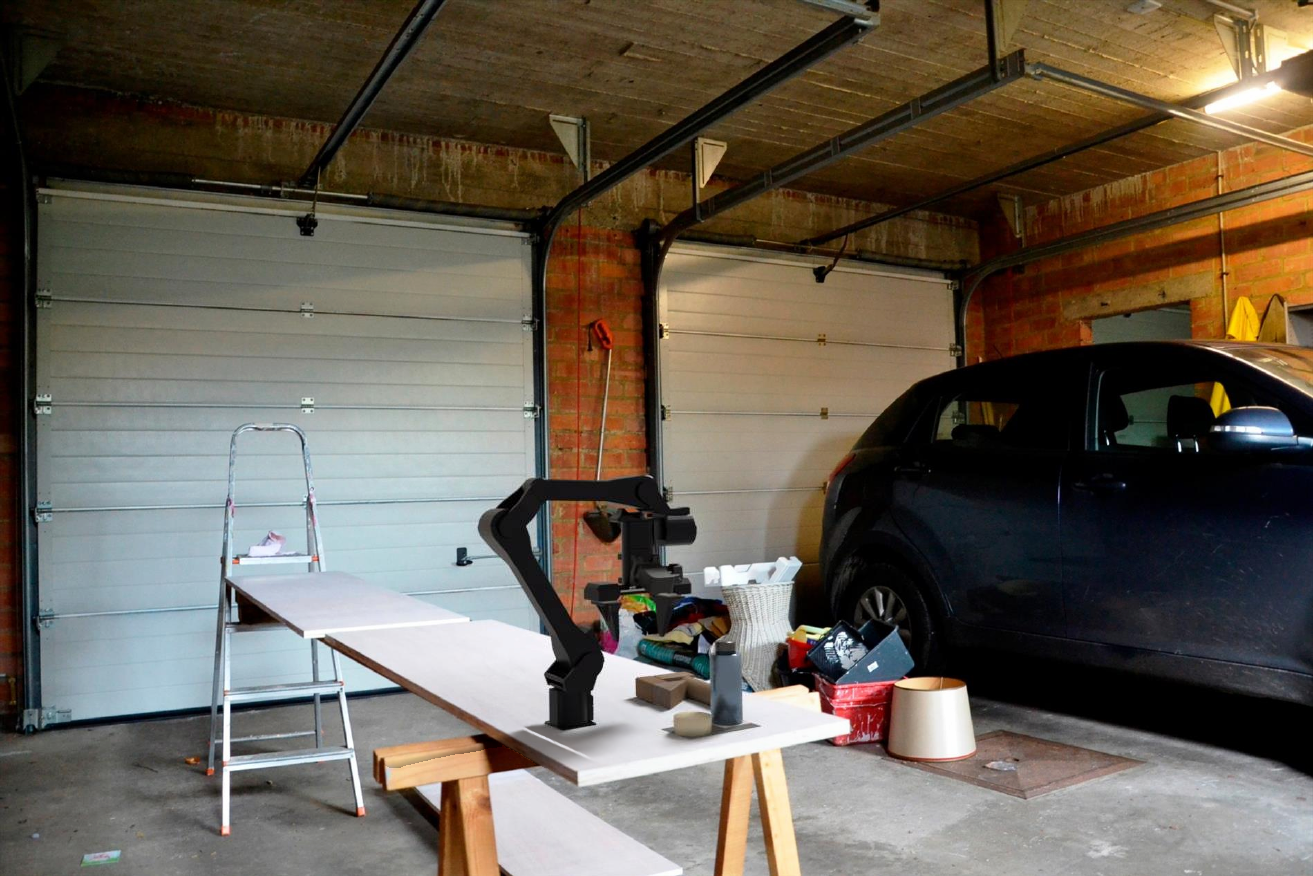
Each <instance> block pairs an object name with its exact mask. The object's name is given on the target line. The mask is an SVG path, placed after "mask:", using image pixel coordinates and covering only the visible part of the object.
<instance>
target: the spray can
mask: <svg viewBox="0 0 1313 876" xmlns="http://www.w3.org/2000/svg"><path fill="white" fill-rule="evenodd" d="M742 665H743V664H742V653H741V652H738V651H737V643H736V640H732V639H721V640H715V641H714V652H710V653H709V682H710V695H711V705H710V714H711V716H712V723H713V724H716V725H723V726H730V725H738V724H741V723H743V720H744V715H743V713H744V712H743V711H744V709H743V708H744V707H743V704H744V703H743V671H742V670H743V667H742Z"/></svg>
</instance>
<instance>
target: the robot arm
mask: <svg viewBox="0 0 1313 876" xmlns="http://www.w3.org/2000/svg"><path fill="white" fill-rule="evenodd" d="M659 489H660V488H659V485H658V483H657V481H656V480H655V479H654V477H653V476H651V475H648V474H647V475H646V474H635V475H633V474H631V475H630V474H629V475H624V476H618V477H611V478H607V479H602V480H597V479H595V480H594V479H565V478H564V479H561V478H560V479H559V478H558V479H557V478H554V479H553V478H545V477H540V476H539V477H529V478H528V479H527V478H526V480H525V481H524V482H523V483H522V484H520V486H519V487H518V488H517V489H516V490H515V491H513V492H512V493H511V494H509V496H507V497H506V498H505V499H503V500H502V501H501V502H499V504H498V505H497V506H496V507H495V508H490V509H488V510H486V511H485V512H483V514H482V515H481V516H480V518H479V519H478V524H477V532H478V534H479V537H481V539H482V540H483V541H484V542H485V544H487V546H488V547H489V548H490V550H492V551H493V552H494V553H495V554H496V555H497V556H498V557H499V558H500V559H502V560H503V562H505V563H506V565H508V566H509V568H510V569H509V570H511V572H512V573H513V575H514V577H515V579H516V580H517V582H518V583H519V586H520V588H521V589H522V590H523V592H524V593H525V595H526V598H528V600H529V602H530V604H531V606H532V607H533V609H534V610H535V612H536V613H537V616H538V617H539V619H540V620H541V622H542V623H543V625H544V627H545V629H546V631H547V632H548V633H549V637H550V642H551V649H552V652H553V655H554V657H555V660H554V661H553V662H552V663H551V664H550V666H549V667H548V668H547V669H546V671H545V672H544V673H543V676H544V679H545V682H546V684H547V686H550V687H551V688H548V716H549V717H548V720H545V721H544V724H545V725H548V726H550V727H552V728H555V729H556V730H559V731H568V730H575V729H580V728H581V729H582V728H587V727H592V726H597V722H595V721H594V719H595V718H594V708H595V707H594V704H595V703H594V695H593V694H592V692H593V690H594V689H595V686H596V683H597V679H598V676H599V675H600V674H601V672H602V670H603V669H604V665H605V661H606V660H605V655H604V653H603V652H602V651H603V650H605V647H604V646H602V645H601V644H600V642H599V641H598V639H597V636H596V634H595V632H594V630H593V628H590V627H587V626H583V625H579V624H575V621H574V620H573V619H572V617H571V616H570V613H569V612H568V610H567V608H566V607H565V605H564V603H563V601H562V600H561V598H560V596H559V594H558V593H557V592H556V590H555V588H554V586H553V585H552V583H551V581H550V579H549V578H548V576H547V575H546V573H545V572H544V570H543V568H542V566H541V565H540V563H539V561H538V559H537V558H536V556H535V555H534V552H533V545H532V541H531V536H530V535H531V534H530V532H529V530H528V528H527V526H528V525H529V524H530V523H531V522H532V521H533V520H534V519H535V517H536V515H537V514H538V512H539V510H540V509H541V508H542V506H543V504H545V503H546V502H547V501H549V502H550V501H552V502H555V501H556V502H557V501H558V502H601V503H605V504H608V505H612V506H616V507H617V506H618V508H617V510H616V512H615V513H614V514H612V515H611V516H610V517H609V518H608V519H609V522H611V523H620V525H621V526H620V527H621V528H620V529H621V530H620V532H621V533H620V534H621V536H620V537H621V539H620V541H621V553H617V560H619V561H620V560H621V576H620V577H617V582H612V581H611V582H610V581H594V582H587V583H586V584H585V587H584V589H583V600H588V601H590V604H591V605H594V606H596V608H597V609H598V611H599V613H600V614H601V617H602V618H603V621H604V622H605V625H606V627H607V629H608V631H609V634H610V636H611V638H612V640H613V642H614V643H619V642H620V614H619V613H620V610H621V607H622V606H623V602H621V601H618V600H619V599H620V598H621V597H622V596H630V595H642V594H649V595H651V596H654V602H655V603H654V604H655V614H656V623H657V625H656V626H657V631H658V635H659V637H661V638H664V637H665V636H666V634H667V630H668V627H669V624H670V620H671V618H672V615H673V613H674V610H675V608H676V606H677V605H678V604H679V603H680V602H681V601H682V600H685V599H686V595H692V594H693V589H692V587H693V586H692V585H693V584H692V582H691V580H690V579H689V577H685V576H684V570H683V565H682V564H680V563H678V562H677V563H675V562H674V563H669V564H668V565H662V563H661V557H660V554H659V553H655V552H656V551H655V550H656V549H655V542H656V543H657V545H658V546H659V547H677V546H691V545H693V544H694V543H695V541H696V539H697V535H698V527H697V525H696V521H695V518H694V516H693V515H692V514H691V508H690V506H678V507H674V508H671V507H670V505H669V504H668V503H667V502H666V499H665V498H664V497H663V496H662V495H663V494H661V492H660V491H659ZM627 508H628V509H634V510H635V511H628V510H627ZM646 514H652V516H651V517H647V516H646Z"/></svg>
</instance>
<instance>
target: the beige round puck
mask: <svg viewBox="0 0 1313 876" xmlns="http://www.w3.org/2000/svg"><path fill="white" fill-rule="evenodd" d="M673 727H674V733H675V734H674V735H676V734H677V735H676V736H678V735H680V736H679V737H681V736H690V737H695V736H704V735H708V734H710V733H712V716H711V713H709V712H704V711H681V712H677V713H675V714H674V715H673Z"/></svg>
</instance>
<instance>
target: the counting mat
mask: <svg viewBox="0 0 1313 876" xmlns="http://www.w3.org/2000/svg"><path fill="white" fill-rule="evenodd" d="M759 727H761V725H760V724H757V723H753V722H749V721H747V720H744V719H743V723H741V724H738V725H730V726H723V725H716V724H713V723H712V733H710V734H708V735H704V736H695V737H690V736H680V735H677V734H675V733H674V726H671V727H665V728H661V730H662V731H664V732H668V733H669V734H670V733H671V734H673V735H676V736H678V737H682V738H684V739H687V740H695V739H700V738H705V737H711V736H716V735H723V734H728V733H732V732H733V733H734V732H739V731H744V730H748V729H754V728H759Z"/></svg>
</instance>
